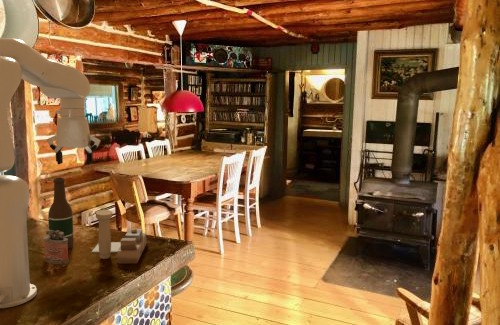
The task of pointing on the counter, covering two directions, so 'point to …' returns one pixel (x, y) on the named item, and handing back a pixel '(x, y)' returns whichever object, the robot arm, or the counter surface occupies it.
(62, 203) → the brown glass bottle
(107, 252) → the handle
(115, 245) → the felt pad
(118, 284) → the counter surface
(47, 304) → the counter surface
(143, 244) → the body
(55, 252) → the lighter
